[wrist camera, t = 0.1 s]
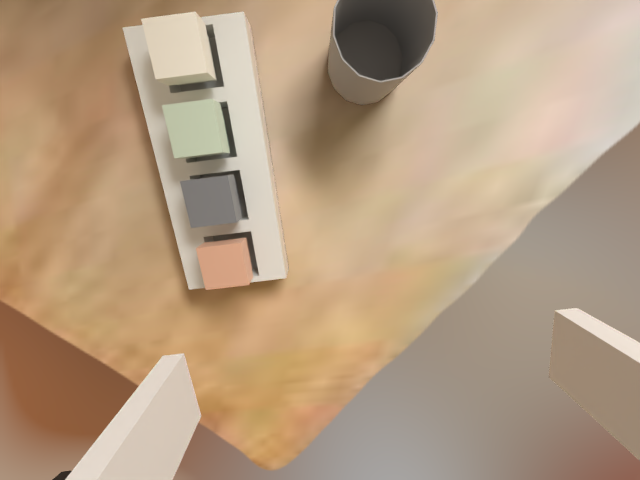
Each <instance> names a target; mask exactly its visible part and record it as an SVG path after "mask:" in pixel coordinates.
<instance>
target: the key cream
mask: <svg viewBox="0 0 640 480" xmlns="http://www.w3.org/2000/svg"><path fill="white" fill-rule="evenodd" d="M141 20H142V24H143V29H144V33H145V37H146V41H147V45H148V50H149V54H150V58H151V62H152V66H153V71H154V75H155V79H156V80H158V81H160V82H162V83H164V84H166V85H167V86H169V85H186V84H194V83H201V82H209V81H217V79H216V74H215V68H214V63H213V58H212V53H211V47H210V42H209V37H208V36H207V31H206V26H205V23H204V22H203V20H202V19H201V18H200V17H199V15H198V14H197V13H196V12H189V13H181V14H174V15H166V16H158V17H151V18H143V19H141Z"/></svg>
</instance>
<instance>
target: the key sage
mask: <svg viewBox="0 0 640 480" xmlns="http://www.w3.org/2000/svg"><path fill="white" fill-rule="evenodd" d="M162 108H163V113H164V117H165V121H166V125H167V129H168V134H169V138H170V142H171V146H172V150H173V155H174V158H180V159H186V158H194V157H202V156H210V155H218V154H226V153H230V152H229V150H230V147H229V142H228V137H227V132H226V126H225V121H224V116H223V111H222V110H221V104H220V103H219V102H217V101H215V100H214V99H207V100H199V101H191V102H183V103H176V104H168V105H162Z"/></svg>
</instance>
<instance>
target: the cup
mask: <svg viewBox="0 0 640 480" xmlns="http://www.w3.org/2000/svg"><path fill="white" fill-rule="evenodd" d="M437 14H438V12H437V9H436V6H435V2H434V0H337V3H336V5H335V7H334V12H333V20H332V28H331V37H330V45H329V53H328V74H329V77H330V79H331V82H332V85H333V87H334V89H335V90H336V91H337V92H338V93H339V94H340V95H341V96H342V97H343V98H344V99H345V100H346V101H349V102H353V103H356V104H359V105H366V104H370V103H375V102H379V101H380V100H381V99H382V98H384V97H385V96H386V95H388V94H389V93H390V92H391V91H392V90H394V89H395V88H396V87H397V86H398V85H399V84H400V83H401V82H402V81H403V80H404V79H405V78H406V77H407V76H409V75H410V74H411V73H412V72H413V71H414V70H415V69H416V68H417V67H418V66H419V65H420V64H421V63H422V62H423V60H424V58H425V57H426V55H427V53H428V51H429V49H430V47H431V45H432V44H433V42H434V40H435V31H436V23H437Z"/></svg>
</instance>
